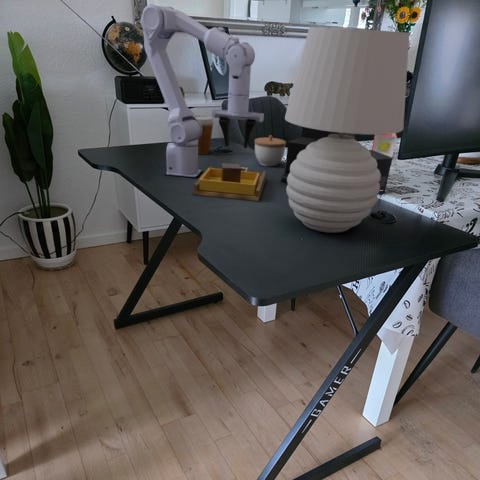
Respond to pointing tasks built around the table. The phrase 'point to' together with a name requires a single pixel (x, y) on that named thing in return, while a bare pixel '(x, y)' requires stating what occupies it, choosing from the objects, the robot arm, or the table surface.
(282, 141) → the trinket box
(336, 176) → the table lamp
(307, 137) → the bookend
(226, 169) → the block
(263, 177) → the board
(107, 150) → the table surface
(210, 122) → the disposable coffee cup
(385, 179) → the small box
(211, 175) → the tray
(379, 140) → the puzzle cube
